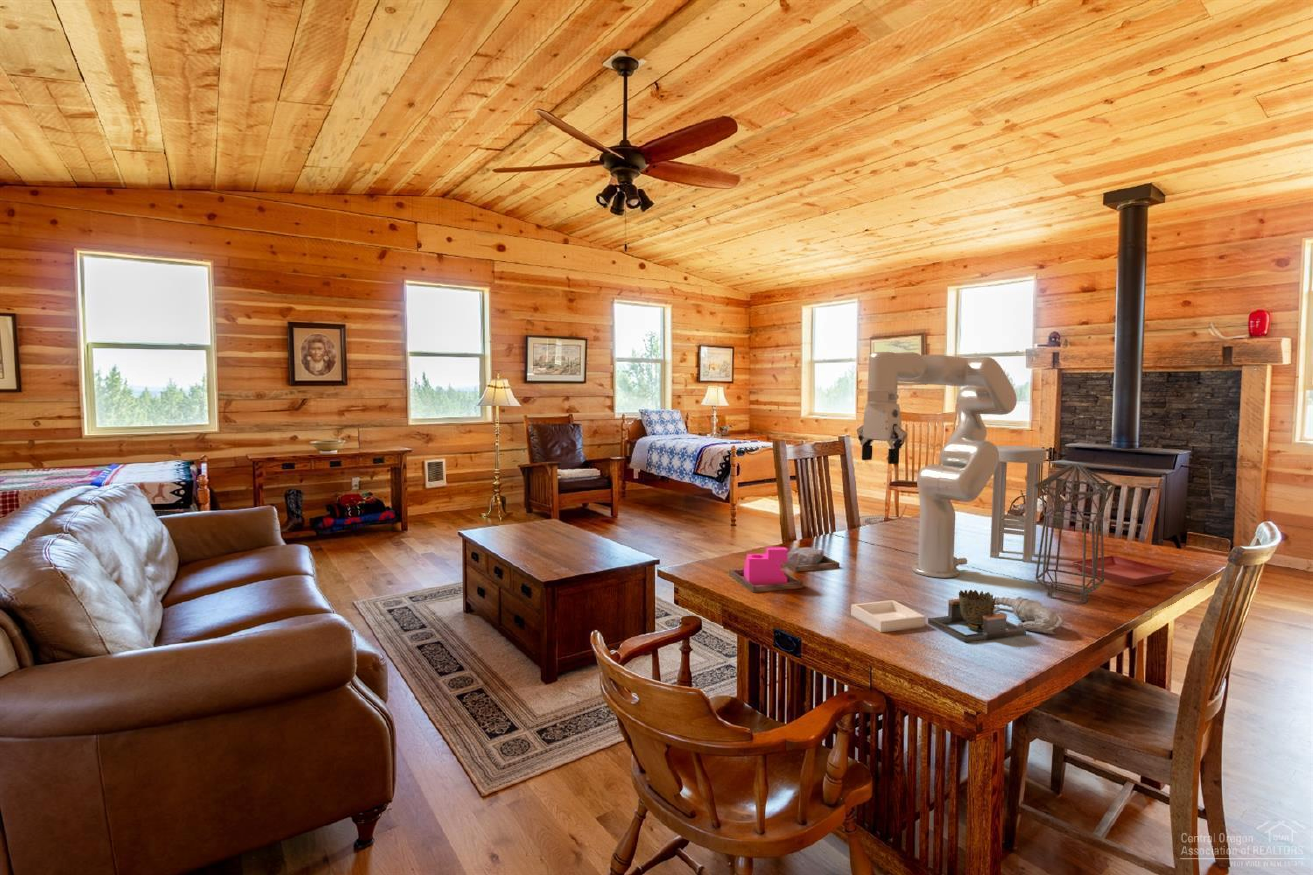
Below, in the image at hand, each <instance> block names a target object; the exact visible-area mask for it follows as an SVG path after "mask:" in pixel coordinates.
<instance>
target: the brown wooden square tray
mask: <svg viewBox="0 0 1313 875" xmlns="http://www.w3.org/2000/svg"><path fill="white" fill-rule="evenodd" d="M783 572H784V574H785V575H786V577H787V583H779V584H768V585H758V586H754V585H753V584H751V583H750V582H749V581H747V580H746V579H745V577H743V576H744V568H735V569H729V570H728V575H729V577H731V578H733V579H734V580H735V581H736V582H738V583H740V584H741V585H742V586H744V587H745V588H746V589H748V590H749V591H751V592H752V593H763V592H771V591H782V590H792V589H803V587H804V586H803V585H804V583H803V581H801V580H800V579H798V578H796V577H794V576H793V575H791V574H790V573H789V572H786V571H784V570H783ZM742 575H743V576H742Z"/></svg>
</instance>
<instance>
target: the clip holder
mask: <svg viewBox="0 0 1313 875" xmlns="http://www.w3.org/2000/svg"><path fill="white" fill-rule="evenodd" d="M947 603H948V606H947V608H948V609H947V616H946V615H945V616H937V617H928V618H927V624H928V625H930V626H932V627H934V628H936V629H938V630H940V631H942V632H944V633H945V634H948V635H950V636H951V637H953V638H955V639H957V640H959V641H961V642H963V643H965V644H968V643H977V642H984V641H992V640H997V639H1006V638H1013V637H1020V636H1022V637H1023V636H1026V635H1027V630H1026V629H1024V628H1021V627H1019V626H1018V624H1017V625H1016V624H1015V623H1012V622H1010V621H1008V620H1007V618H1008V615H1007V614H1005V613H1002V612H1000V613H993V614H991V615H983V631H982V632H978V633H970V634H964V633H962V632H960V631H958V630H957V629H955V628H953V627H951V626H949V625H947V624H952V623H961V622H967V621H966V620H965V619H964V618H963V617H962V615H961V610H960V601H959V598H953V599H948V600H947Z"/></svg>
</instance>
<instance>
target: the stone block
mask: <svg viewBox="0 0 1313 875" xmlns="http://www.w3.org/2000/svg"><path fill="white" fill-rule="evenodd" d="M823 556H825V555H824V549H818V548H814V547H808V546H805V547H797V548H794V549H791V550H790V552H789V553H788V556H787V561H789V562H791V563H792V564H794V565H796V566H801V565H813V564H820V562H823V561H822V560H823Z"/></svg>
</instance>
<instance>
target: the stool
mask: <svg viewBox="0 0 1313 875" xmlns="http://www.w3.org/2000/svg"><path fill="white" fill-rule="evenodd" d="M995 446H996V447H997V449H998V451H999V462H998V465H997V468H996V470H995V472H994V473H993V475H992V476H993V477H992V481H993V482H992V500H991V524H990V525H991V526H990V545H989V546H990V551H989V558H992V559H999V557H1000V553H1003V551H1004V542H1005V541H1004V540H1005V539H1004V538H1005V536H1004V535H1005V534H1006V535H1007V534H1008V535H1016V536H1023V546H1022V547H1023V550H1022V563H1028V564H1032V559H1033V557H1035V556H1036V540H1037V521H1038V520H1037V518H1038V498H1039V497H1038V496H1039V489H1038V488H1037V487H1035V486H1034V485H1035V484H1037V483H1039V479H1040V478H1039V477H1040V464H1041V463H1046V462H1047V449H1046V448H1043V447H1039V446H1037V447H1036V446H1027V445H1024V446H1023V445H995ZM1008 463H1016V464H1020V463H1021V464H1027V465H1026V480H1025V481H1026V484H1025V501H1024V502H1025V505H1024V506H1025V508H1024V516H1023V515H1015V514H1014V515H1013V514H1005V513H1006V496H1007V495H1006V492H1007V491H1006V490H1007V489H1006V488H1007V472H1008V471H1007V470H1008V469H1007V468H1008V467H1007V466H1008V465H1007V464H1008Z"/></svg>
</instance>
